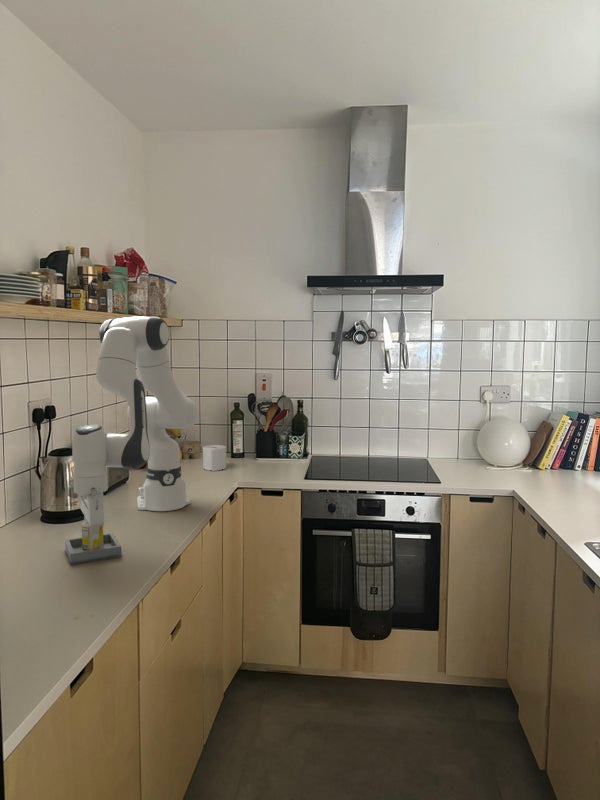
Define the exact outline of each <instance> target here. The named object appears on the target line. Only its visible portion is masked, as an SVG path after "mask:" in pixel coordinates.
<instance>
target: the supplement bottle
mask: <svg viewBox="0 0 600 800" xmlns="http://www.w3.org/2000/svg"><path fill="white" fill-rule="evenodd" d="M83 515H84V514H83ZM103 534H104V525H103V526H100V529H99V538H98V539H95V540H93V539H92V538H91V527H90V525H89V523H88V521H87V520H86V518H85V515H84V519H83V521H82V522H81V537H82V547H83V551H86V550H92V549H99V548H104V542H103Z"/></svg>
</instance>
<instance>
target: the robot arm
mask: <svg viewBox="0 0 600 800" xmlns="http://www.w3.org/2000/svg"><path fill="white" fill-rule="evenodd" d="M98 335H99V337H98V338H99V341H100V343H101V344H100V348H99V352H98V357H97V361H96V371H95V374H96V375H95V376H96V379H97V383H99V385H100V386H101V388H103V389H104V390H105V391H107V392H108V393H109V392H110V393H111V394H112V395H113V394H114V395H116V396H118V397H121V398H123V399H125V401H126V402H127V404H128V406H127V411H126V412H127V413H126V414H127V418H128V421H129V431H128V432H127V433H112V432H107V431H105V430H104V427H103V426H102V425H99V424H96V423H95V424H93V423H92V424H85V425H81V426H79V427H77V428H76V429H75V430H74V431H73V436H72V437H73V438H72V446H71V447H72V451H71V452H72V453H71V454H72V462H73V467H74V468H73V469H74V470H73V474H72V481H73V493H74V494H76V495H77V498H78V504H79V507H80V508H79V509H80V510H81V512H82V514H83V515H85V518H86V520H87V521H88V523H89V525H90V527H91V538H92V539H93V540H95V539H98V538H99V529H100V526H103V527H104V525H105V512H104V511H105V510H104V509H105V508H104V499H103V497H104V493H105V492H106V491H108V489H109V488H108V487H109V486H108V485H109V484H108V470H107V468H124V469H128V470H129V469H130V470H139V469H140V468H142V467H143V466H144V465H145V464H146V463H147V467H146V471H145V473H146V475H145V477H146V479H145V481H144V483H143V484H142V487H138V494H139V495H138V496H137V498H136V501H137V503H136V504H137V510H140V511H150V512H151V511H152V512H171V511H175V510H179V509H182V508H184V507H186V506H187V505H191V503H192V500H190V499H188V498H187V485H186V480H184V479H183V478H182V471H183V470H182V466H181V462H180V461H181V460H180V459H181V458H180V457H181V456H180V455H181V454H180V453H181V452H180V446H179V443H178V442H177V441H176V440H175V439H173V438H172V437H170V436H169V434H168V432H167V431H166V429H170V430H171V429H173V430H174V429H175V430H179V429H180V430H181V429H189V428H192V427H193V426H194V425H195V424H196V423H197V421H198V418H199V408H198V406H197V404H196V402H195V401H194V400H192V399H191V398H189V397H188V396H187V395H186V394H185V393H184V392H182V390H181V389H180V387H179V386H178V385H177V382H176V380H175V378H174V376H173V371H172V367H171V363H170V358H169V352H168V350H167V345H168V343H169V340H170V329H169V324H168V323H167V322H166V320H164V319H163V318H161V317H159V316H139V315H138V316H130V317H129V316H128V317H122V318H117V317H116V318H110V319H109V318H108V319H107V320H104V322H103V323H102V324H101V326H100V328H99V333H98ZM137 376H138V377H137ZM146 391H147V392H149V393H150V394H151V395H153V396H146Z"/></svg>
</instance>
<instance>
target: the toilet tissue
mask: <svg viewBox="0 0 600 800" xmlns="http://www.w3.org/2000/svg"><path fill="white" fill-rule="evenodd" d="M225 468H226V469H227V446H226V445H222V444H211V445H204V446H202V469H203V470H204V469H205V470H204V471H210V470H212V471H211V472H216V471H223V470H226V469H225ZM222 469H223V470H222Z"/></svg>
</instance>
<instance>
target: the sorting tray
mask: <svg viewBox="0 0 600 800" xmlns="http://www.w3.org/2000/svg"><path fill="white" fill-rule="evenodd" d="M103 542H104V548H99V549H92V550H86V551H83V547H82V536H80V537H74V538H68V539H67V538H66V539H64V547H65V553H66V555H67V558H68V561H69V564H70V565H71V566H73V565H81V564H87V563H92V562H93V563H94V562H99V561H106V560H112V559H118V558H122V555H123V554H122V545H121V543H120V542H119V541H118V539H117V538H116V535H115V534H114V533H113V532H110V533H103Z"/></svg>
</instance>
